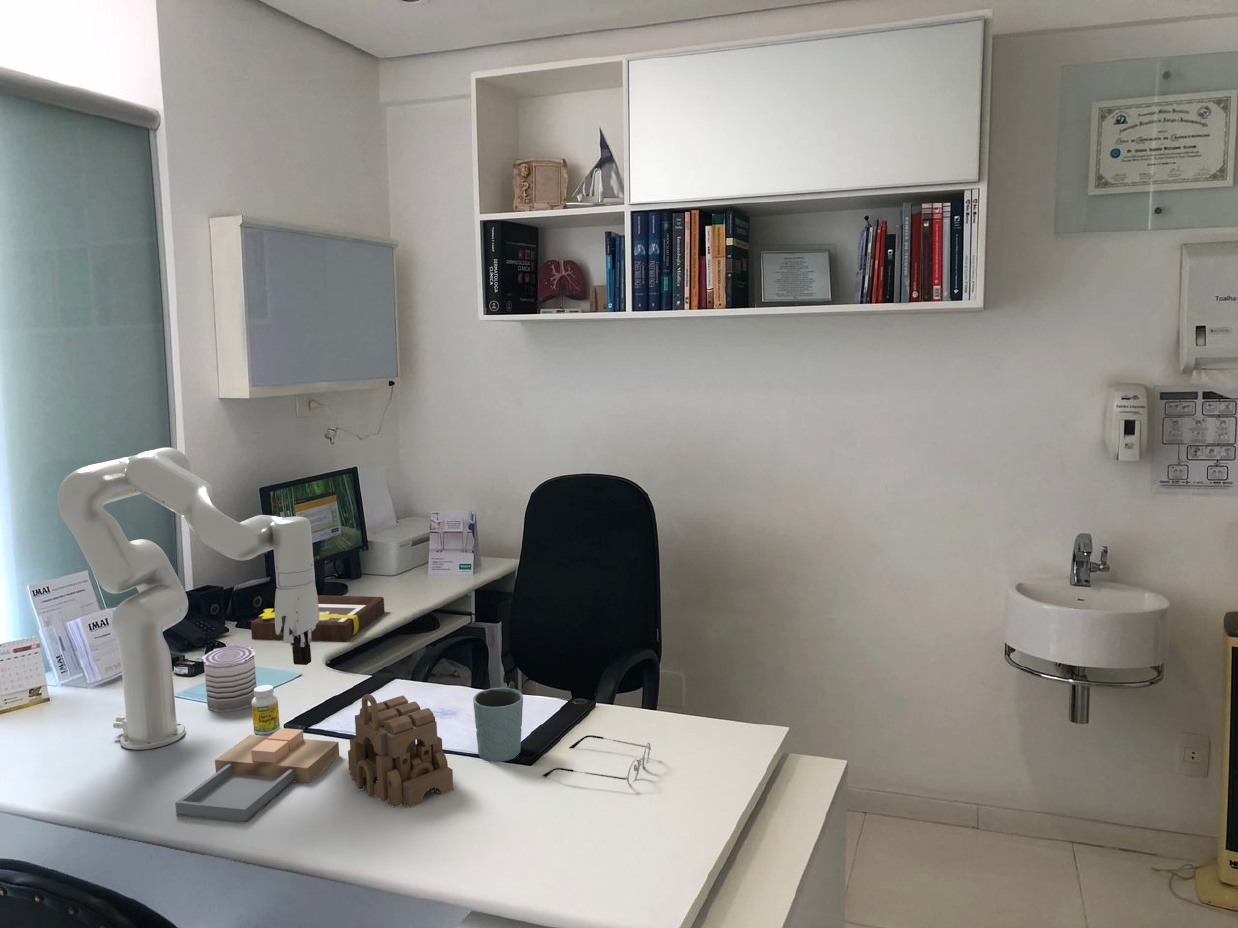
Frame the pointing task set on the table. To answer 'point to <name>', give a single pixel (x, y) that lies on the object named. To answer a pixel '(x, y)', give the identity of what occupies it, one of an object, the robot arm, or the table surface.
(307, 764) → the board
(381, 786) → the wooden puzzle
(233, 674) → the can
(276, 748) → the tile front
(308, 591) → the robot arm
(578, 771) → the eyeglasses
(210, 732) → the table surface
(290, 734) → the tile rear
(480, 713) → the green cup
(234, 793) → the tray
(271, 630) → the picture frame
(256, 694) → the supplement bottle
